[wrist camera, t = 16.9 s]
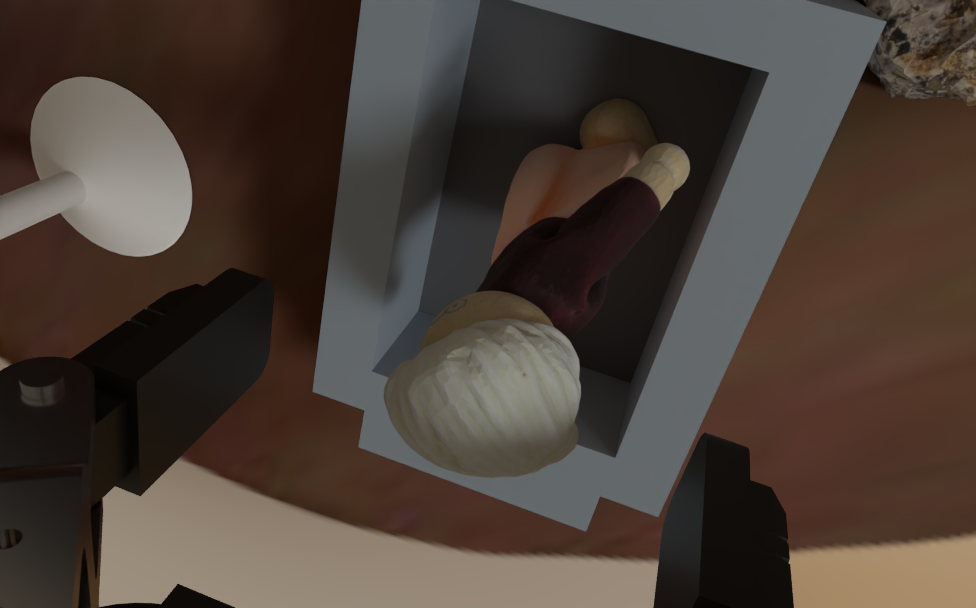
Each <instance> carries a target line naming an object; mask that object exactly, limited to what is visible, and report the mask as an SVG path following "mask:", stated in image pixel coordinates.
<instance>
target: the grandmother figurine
mask: <svg viewBox="0 0 976 608" xmlns="http://www.w3.org/2000/svg"><path fill="white" fill-rule="evenodd" d="M580 143H581V145H582V148H583V149H581V150H576V149H574V148H571V147H568V146H565V145H559V144H546V145H543V146H541V147H538V148H536V149H534V150H533V151H531V152H530V153H529V154H528V155H527V156H526V157H525V158H524V159H523V161H522V162H521V164H520V166H519V168H518V170H517V172H516V174H515V176H514V178H513V181H512V183H511V186H510V190H509V193H508V195H507V198H506V202H505V205H504V211H503V217H502V222H501V226H500V229H499V232H498V235H497V238H496V242H495V246H494V250H493V254H492V261H491V267H490V269H489V270H488V272H487V275H486V277H485V279H484V281H483V283H482V284H481V285H480V287H479V288H478V290H477V291H476V292H475V293H473V294H470V295H467V296H464V297H462V298H460V299H458V300H456V301H454V302H453V303H451V304H450V305H448V306H447V307H446V308H445V309H443V310H442V311H441V312H440V313H439V314H438V316H437V317H436V318H435V319H434V320H433V321H432V323H431V324H430V326H429V328H428V329H427V331H426V333H425V336H424V338H423V341H422V345H421V348H420V353H419V354H418V355H417V356H416V357H415V358H414V359H413V360H407V361H404V362H402V363H401V364H399V365H398V366H397V367H396V369H395V370H394V371H393V373H392V374H391V375H390V377H389V378H388V380H387V383H386V385H385V387H384V396H383V397H384V403H385V406H386V408H387V411H388V414H389V417H390V420H391V422H392V424H393V426H394V427H395V429H396V431H397V432H398V433H399V435H400V436H401V438H402V439H403V440H404V442H405V443H406V444H407V445H408V446H409V447H410V448H411V449H412V450H414V451H415V452H416V453H417V454H419V455H420V456H421V457H423V458H424V459H426V460H427V461H429V462H430V463H432V464H434V465H436V466H438V467H440V468H442V469H445V470H449V471H453V472H456V473H459V474H462V475H468V476H473V477H485V478H496V477H518V476H522V475H526V474H531V473H536V472H537V471H539V470H540V469H542V468H544V467H545V466H547V465H550V464H553V463H556V462H559V461H561V460H562V459H564V458H565V457H566V456H567V455H568V454H569V453H571V452H572V451H573V450H574V449H575V446H576V444H577V441H578V435H579V434H578V428H577V426H576V424H575V422H574V421H575V418H576V415H577V412H578V409H579V402H580V398H581V385H580V381H579V373H580V365H579V359H578V356H577V354H576V352H575V350H574V348H573V346H572V344H571V342H570V341H569V339H570V338H571V337H572V336H574V335H575V334H576V333H577V332H579V331H580V330H581V329H582V328H583V327H585V326H586V325H587V324H588V323H589V322H590V321H591V320H592V319H593V317H594V316H595V315H596V314H597V313H598V311H599V309H600V308H601V306H602V303H603V301H604V299H605V295H606V290H607V281H608V278H609V275H610V271H611V270H612V269H613V268H615V267H616V266H617V265H618V264H619V262H620V261H622V260H623V259H624V258H625V257H626V255H627V254H628V252H629V251H630V250H631V249H632V248H633V246H634V245H635V244H636V243H637V242H638V240H639V239H640V238H641V237H642V236H643V235H644V234H645V233H646V232H647V231H648V230H649V229H650V227H651V226H652V225H653V224H654V223H655V221H656V220H657V219H658V217H659V215H660V211H661V210H662V209H663V208H664V206H665V205H666V204H667V202H668V201H669V200H670V198H671V196H672V194H673V191H675V190H677V189H678V188H679V187H680V186H681V185H682V184H683V183H684V182H685V181H686V179H687V177H688V175H689V171H690V164H689V159H688V157H687V155H686V154H685V152H684V150H682V149H681V148H680V147H679V146H677V145H673V144H670V143H661V144H658V141H657V139H656V137H655V134H654V132H653V130H652V127H651V125H650V123H649V121H648V119H647V117H646V115H645V113H644V112H643V110H642V109H641V108H640V107H639V106H638V105H636V104H635V103H633V102H632V101H630V100H625V99H621V98H617V99H611V100H607V101H605V102H602V103H601V104H599V105H598V106H596V107H595V108H593V109H592V110H591V111H590V112H589V113H588V114H587V115H586V116H585V118H584V120H583V122H582V124H581V128H580Z"/></svg>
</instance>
